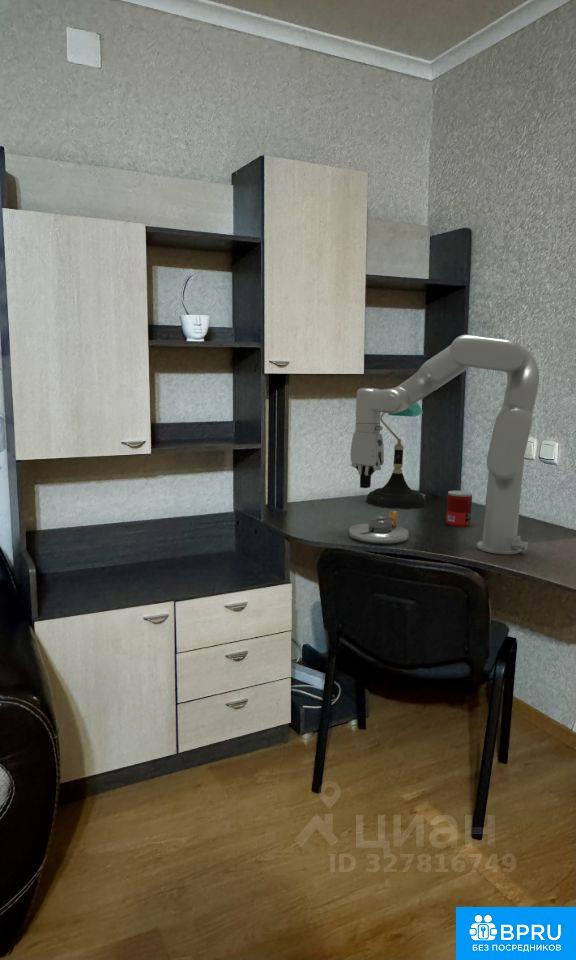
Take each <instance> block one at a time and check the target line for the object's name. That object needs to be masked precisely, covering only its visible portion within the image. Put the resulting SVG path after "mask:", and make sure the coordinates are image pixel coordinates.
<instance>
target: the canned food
mask: <svg viewBox="0 0 576 960" xmlns="http://www.w3.org/2000/svg"><path fill="white" fill-rule="evenodd" d="M472 505H473V493H472V492H470V491H465V490H449V491H448V492H447V500H446V515H445V517H446V518H445V522H446V524H447V525H448V526H451V527H456V528H467V527H469V526H470V524H471V517H472Z"/></svg>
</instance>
